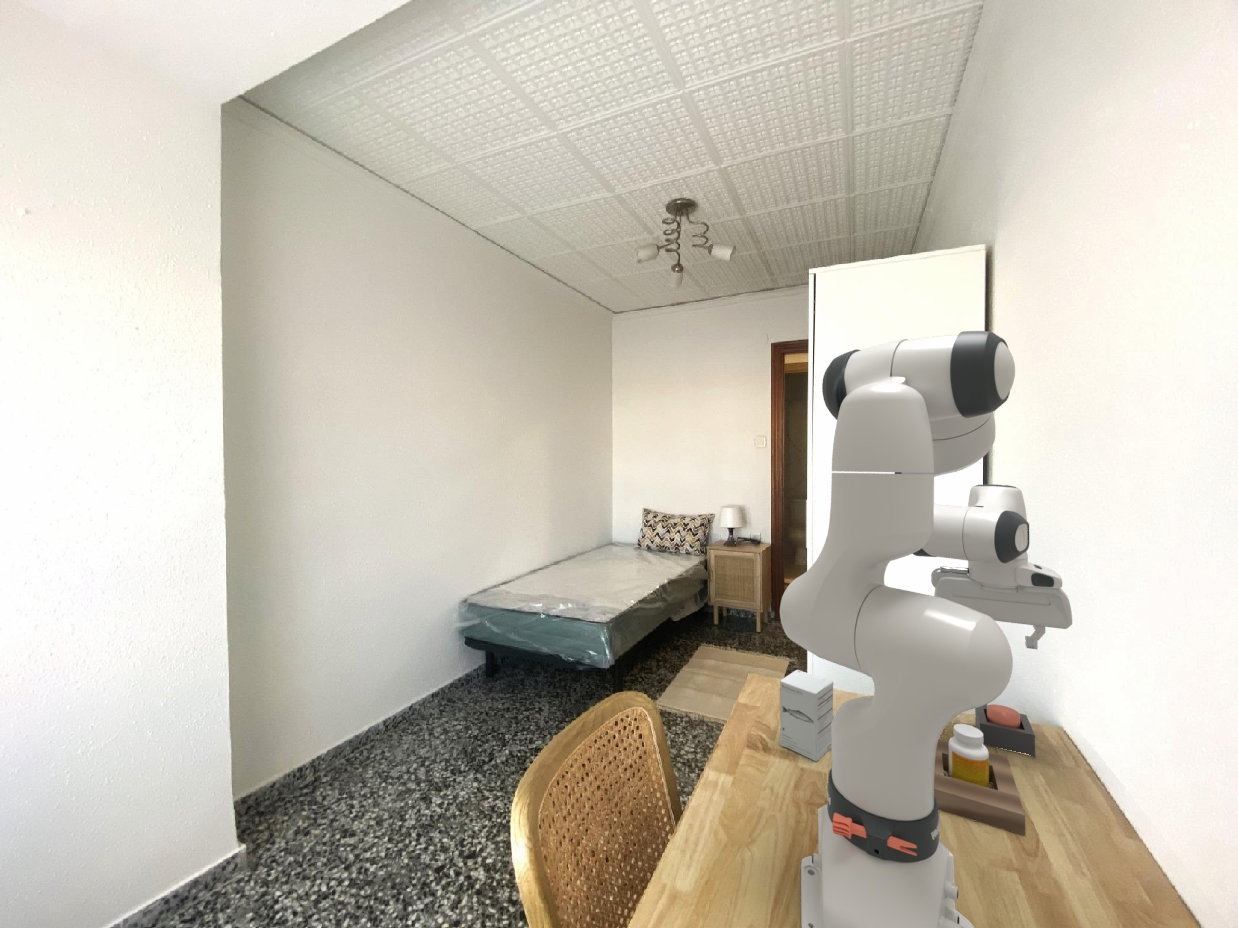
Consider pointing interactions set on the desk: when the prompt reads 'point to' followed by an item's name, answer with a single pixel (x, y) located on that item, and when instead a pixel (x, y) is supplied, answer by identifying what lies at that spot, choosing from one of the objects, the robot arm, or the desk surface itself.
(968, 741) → the supplement bottle
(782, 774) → the desk surface
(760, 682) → the desk surface
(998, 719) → the button
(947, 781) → the brown bottle holder
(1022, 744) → the button box
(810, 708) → the supplement box
